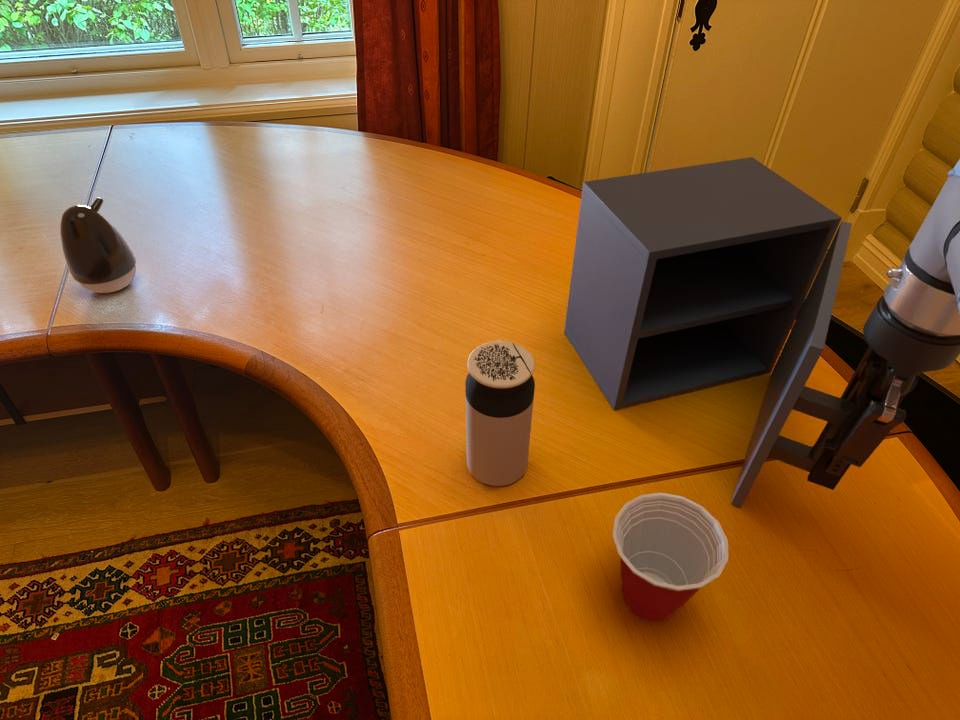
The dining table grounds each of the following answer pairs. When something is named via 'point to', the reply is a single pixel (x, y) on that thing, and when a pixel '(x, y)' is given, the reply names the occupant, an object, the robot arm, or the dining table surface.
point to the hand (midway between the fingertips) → (821, 473)
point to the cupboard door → (799, 380)
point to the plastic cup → (666, 552)
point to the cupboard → (690, 276)
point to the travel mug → (499, 411)
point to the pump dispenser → (95, 249)
